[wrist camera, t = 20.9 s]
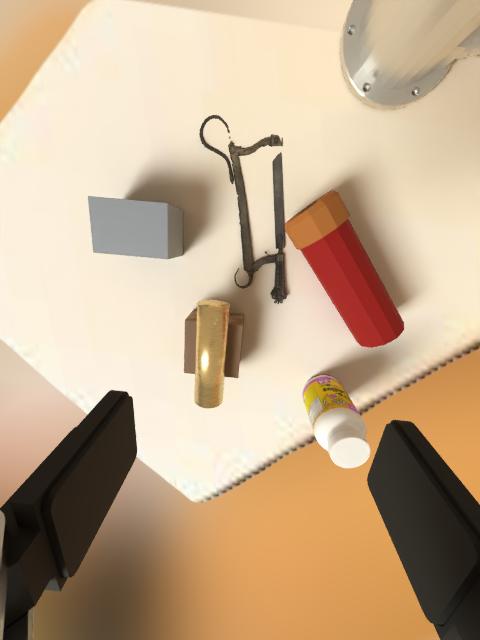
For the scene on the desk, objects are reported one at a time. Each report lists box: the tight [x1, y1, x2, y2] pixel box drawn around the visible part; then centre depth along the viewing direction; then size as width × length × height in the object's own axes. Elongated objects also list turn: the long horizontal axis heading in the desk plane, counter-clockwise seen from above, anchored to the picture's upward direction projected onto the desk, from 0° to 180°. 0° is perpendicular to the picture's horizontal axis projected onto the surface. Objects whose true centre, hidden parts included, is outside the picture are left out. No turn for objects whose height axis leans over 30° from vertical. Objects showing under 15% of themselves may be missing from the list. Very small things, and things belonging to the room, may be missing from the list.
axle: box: [194, 300, 230, 408], centre depth 33 cm, size 14×4×4 cm, turn 175°
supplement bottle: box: [302, 375, 370, 468], centre depth 35 cm, size 7×7×13 cm
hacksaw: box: [200, 115, 287, 304], centre depth 33 cm, size 24×10×2 cm, turn 5°
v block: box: [184, 310, 244, 378], centre depth 37 cm, size 8×8×5 cm
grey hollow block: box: [88, 196, 183, 259], centre depth 31 cm, size 6×9×7 cm
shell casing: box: [285, 190, 404, 347], centre depth 32 cm, size 7×20×7 cm, turn 35°
